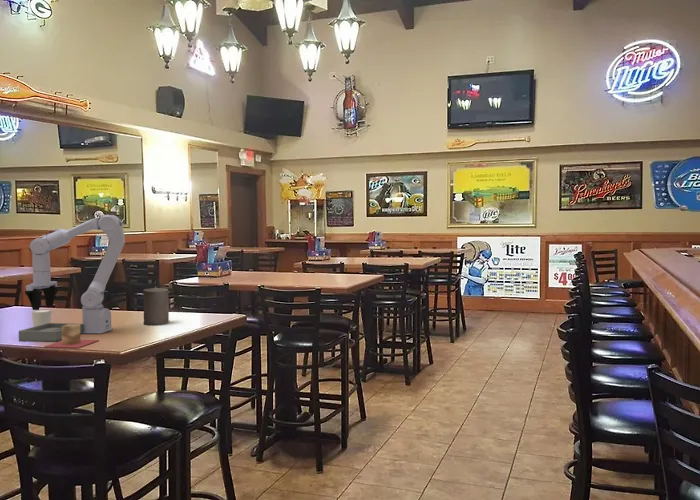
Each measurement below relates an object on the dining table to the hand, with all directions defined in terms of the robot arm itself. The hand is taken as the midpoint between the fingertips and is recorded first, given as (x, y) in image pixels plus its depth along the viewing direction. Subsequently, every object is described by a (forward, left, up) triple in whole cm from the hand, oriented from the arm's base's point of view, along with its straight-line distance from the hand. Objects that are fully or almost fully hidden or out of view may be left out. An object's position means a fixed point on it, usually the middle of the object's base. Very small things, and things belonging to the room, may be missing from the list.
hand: (42, 308), depth 218 cm
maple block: (-22, +16, -9) cm, 28 cm away
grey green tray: (-7, +5, -9) cm, 13 cm away
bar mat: (-22, +16, -9) cm, 29 cm away
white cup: (+7, -9, -10) cm, 15 cm away
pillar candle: (-31, -26, -10) cm, 42 cm away
